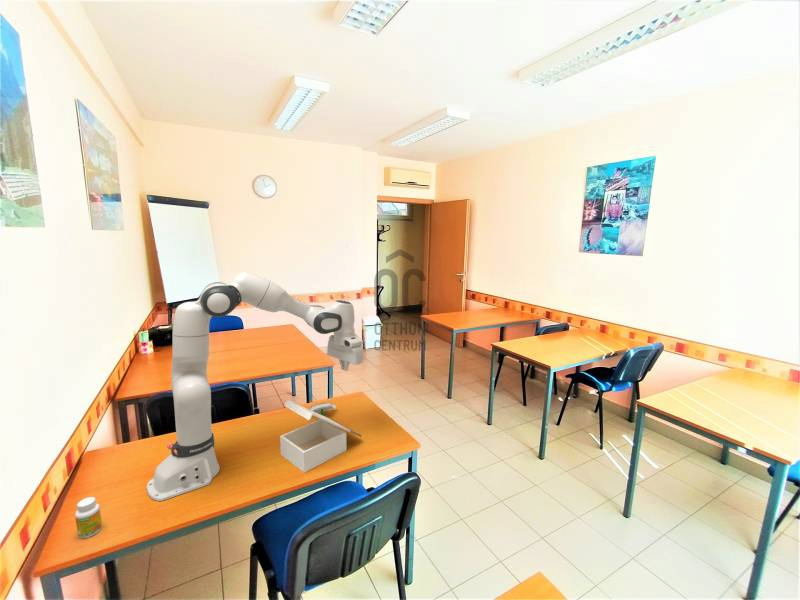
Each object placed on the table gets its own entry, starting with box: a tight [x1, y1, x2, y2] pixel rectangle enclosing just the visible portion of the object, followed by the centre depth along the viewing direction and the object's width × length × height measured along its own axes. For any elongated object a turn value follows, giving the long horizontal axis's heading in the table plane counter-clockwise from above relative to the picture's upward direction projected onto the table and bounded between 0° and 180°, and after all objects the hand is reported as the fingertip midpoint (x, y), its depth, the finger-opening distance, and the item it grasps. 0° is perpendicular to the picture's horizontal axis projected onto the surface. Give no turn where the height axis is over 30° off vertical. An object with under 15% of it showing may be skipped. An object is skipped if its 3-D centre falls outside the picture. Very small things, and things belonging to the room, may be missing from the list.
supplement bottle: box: [74, 496, 103, 539], centre depth 104 cm, size 5×5×10 cm
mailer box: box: [279, 419, 348, 473], centre depth 144 cm, size 20×17×8 cm
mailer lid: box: [284, 399, 362, 437], centre depth 147 cm, size 30×17×3 cm
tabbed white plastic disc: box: [308, 402, 337, 416], centre depth 175 cm, size 15×8×11 cm
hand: (344, 369), depth 152 cm, fingers closed
